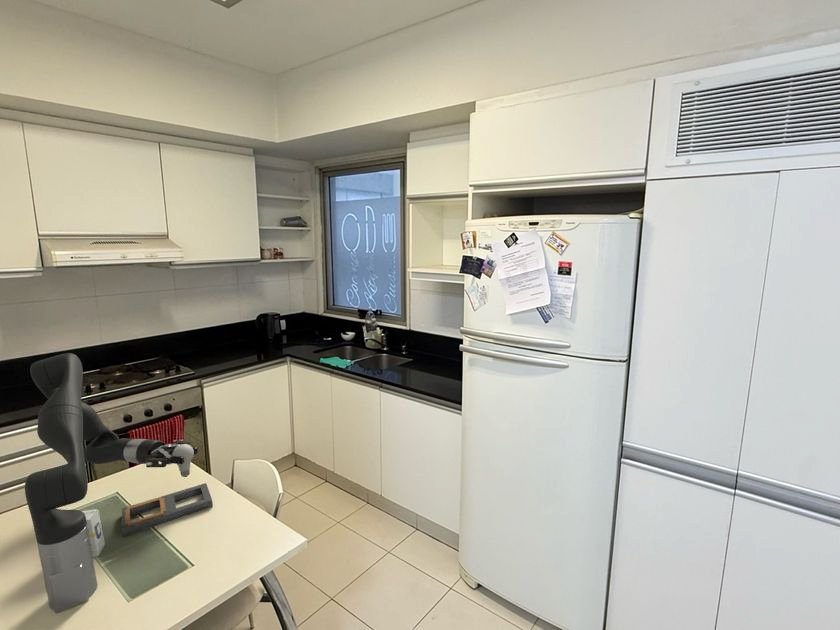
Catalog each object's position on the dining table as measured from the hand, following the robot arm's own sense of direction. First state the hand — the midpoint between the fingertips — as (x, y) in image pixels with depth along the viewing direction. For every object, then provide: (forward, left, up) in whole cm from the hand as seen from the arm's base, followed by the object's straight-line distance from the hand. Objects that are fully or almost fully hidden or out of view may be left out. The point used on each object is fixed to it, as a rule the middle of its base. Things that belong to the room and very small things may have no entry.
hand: (190, 455), depth 136 cm
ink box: (-6, +29, -18) cm, 34 cm away
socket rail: (+2, +8, -18) cm, 19 cm away
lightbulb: (+2, +2, -8) cm, 8 cm away
